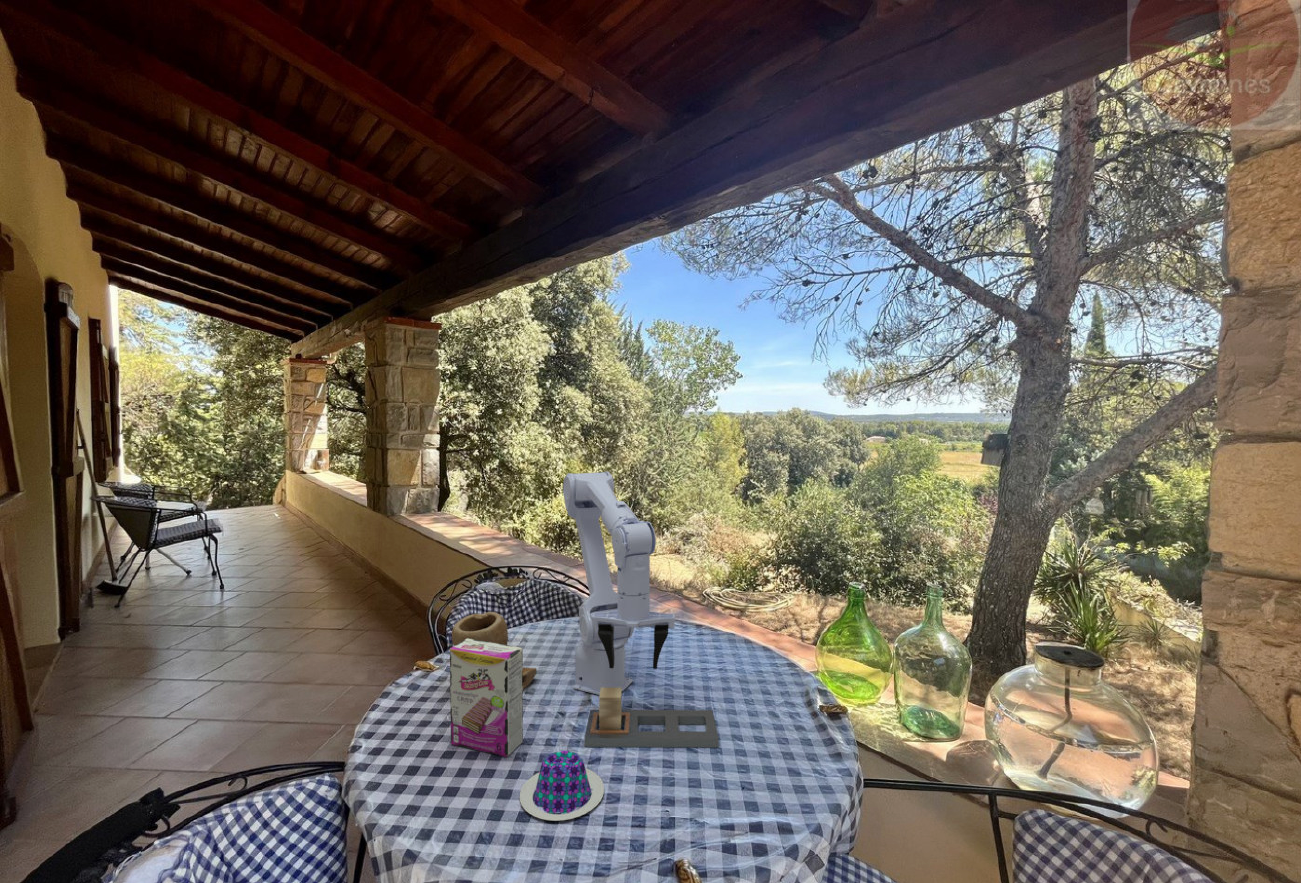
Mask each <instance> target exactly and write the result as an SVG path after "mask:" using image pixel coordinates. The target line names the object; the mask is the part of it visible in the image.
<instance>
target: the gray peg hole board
mask: <svg viewBox="0 0 1301 883" xmlns="http://www.w3.org/2000/svg"><path fill="white" fill-rule="evenodd" d="M622 725H624V726H623V728H624V729H621V730H599V729H598V727H599V709H590V710H589V713H588V719H587V724H586V729H585V734H584V738H583V739H584V740H583V741H584V747H585V748H719V743H720V742H719V735H718V729H717V724H716V720H715V715H714V710H713V709H712V710H710V709H701V710H699V709H622ZM639 725H664V728H665V730H663V731H662V730H658V731H657V730H656V731H655V730H643V731H642V730H639V729H638V726H639ZM680 725H681V726H682V725H684V726H685V725H689V726H691V725H693V726H694V725H695V726H696V725H697V726H698V725H703V726H704V728H705V730H703V731H702V730H701V731H693V730H692V731H691V730H690V731H685V730H683V731H682V730H681V731H680V728H679V726H680Z"/></svg>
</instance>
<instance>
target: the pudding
mask: <svg viewBox="0 0 1301 883" xmlns="http://www.w3.org/2000/svg"><path fill="white" fill-rule="evenodd" d="M534 789H535V790H534ZM591 789H593V790H591ZM519 792H520V793H519V801H520V805H521V806H522V808H523V809H524V810H525V812H527V813H528V814H530V815H531V816H533V817H535V818H538V819H540V820H545V821H554V822H555V821H556V822H557V821H566V820H572V819H575V818H579V817H581V816H583V815H586V814H587V813H589V812H590V811H592V810H593V809H595V807H596V806H598V804H599V803H600V802H601V800H602V798H603V796H604V793H605V785H604V782H603V780H602V779H601V777H600V776H599V775H598V774H597V773H596V772H595V771H592V770H591V769H588V768H586V766H585V762H584V761H583V759H582V758H581V757H580V755H579V754H578V753H577V752H575V751H569V750H561V751H559V752H558V751H556V752H555V751H554V752H552V753H550V754H549V755H548V756H546V757H545V758H544V759H543V760H542V762H541V766H540V769H539V772H537V773H536V774H533V775H532V776H531V777H530V778H529V779H527V781H526V782H525V783H524V784H523V786H522V787H521V789H520V791H519ZM590 795H591V796H590ZM589 796H590V798H589V799H588V797H589ZM533 797H534V799H533ZM538 807H539V808H538ZM540 808H543V810H541V809H540ZM576 808H579V809H577V810H575V809H576ZM558 812H559V813H561V814H556V813H558Z"/></svg>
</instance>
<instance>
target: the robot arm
mask: <svg viewBox="0 0 1301 883" xmlns="http://www.w3.org/2000/svg"><path fill="white" fill-rule="evenodd" d="M563 479H564V480H563V485H562V486H563V488H562V489H563V490H562V494H563V500H564V504H565V505H564V506H565V510H566V512H567V516H569V517H570V518H572V519H574V521H575V525H576V529H577V532H578V539H579V543H580V550H581V555H582V561H583V564H584V570H585V575H586V583H587V586H588V593H589V596H588V597H587V598H586V600H584V602H582V603H581V605H580V607H579V610H578V617H579V622H578V624H579V627H578V628H579V632H580V633H579V634H580V637H581V641H580V642H579V644H578V646H577V648H576V651H575V658H574V659H575V660H574V661H575V664H574V665H575V668H574V669H575V670H574V671H575V684H574V685H572V687H573V689H574V690H577V689H578V690H577V691H582V692H587V693H589V694H593V695H594V694H595V695H597V696H600V690H601V687H622V692H624V691H625V690H626V689H627V688H628V687H630V685H631V684H632V683H633V681H634V680H633V679H632V678H629V677H625V675H626V674H625V668H626V667H625V666H626V665H625V664H626V663H625V661H626V658H625V654H626V653H625V652H626V650H625V648H626V647H625V645H627V644H629V639H630V638H632V636H633V633H634V632H635V628H638V627H640V628H642V627H643V628H649V627H651V628H654V629H653V656H652V669H653V670H657V669H658V663H659V658H660V655H661V652H662V649H663V647H664V645H665V643H666V641H667V638H668V635H669V629H675V621H676V620H675V613H665V612H655V611H650V608H651V607H650V603H651V601H650V598H651V596H650V595H651V594H650V590H651V587H650V586H651V585H650V582H651V581H650V580H651V579H650V578H651V576H650V575H651V574H650V573H651V571H650V569H651V568H650V567H651V566H650V565H651V564H650V563H651V558H650V555H652V554H653V553H654V552H655V551H656V545H657V536H656V531H655V529H654V527H653V524H652V523H651V522H650V521H647V520H646V521H644V520H639V518H638V517H637V516H636V514H635V513H634V511H632V510H631V508H630V507H629V505H628V504H627V503H625V501H624V500H623V501H622V500H618V498H617V496H616V494H615V493H614V492H615V481H614V478H613V475H612V474H611V473H610V472H609V471H604V472H585V473H584V472H583V473H581V472H580V473H571V472H567V473H566V476H564V478H563ZM600 518H601V522H602V524H603V525H604V527H605V528H606V530H607V532H608V533H609V534H610V536H611V545H612V549H613V554H614V565H615V566H616V567H617V568H616V569H617V570H616V571H617V575H616V576H617V579H616V582H617V587H616V588H617V590H616V591H617V592H616V591H615V590H614V588H613V587H614V586H613V582H612V577H611V573H610V572H611V571H610V568H609V564H608V557H607V553H606V548H605V543H604V539H603V534H602V528H601V523H600Z"/></svg>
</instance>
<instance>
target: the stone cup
mask: <svg viewBox="0 0 1301 883" xmlns="http://www.w3.org/2000/svg"><path fill="white" fill-rule="evenodd" d="M467 638H468V639H474V640H479V641H485V642H490V643H496V644H502V645H508V640H509V632H508V625H507V622H506V620H505V618H504V617H503V616H502V615H501V614H499V613H497V612H495V611H487V612H484V613H473V614H470V615H466V616H465V617H463V618H461V619H459V621H457V622H456V623H455V624H454V626H453V628H452V629H451V642H452V645H453V646H455V645H457V644H459V643H460V642H462V641H464V640H465V639H467ZM522 671H523V672H522V673H523V690H525V688H527V687H528V686H529V685H530V684H531V682H532V681H534V678H535V677H536V675H537V673H538V669H537V668H536V667H523V670H522Z"/></svg>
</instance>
